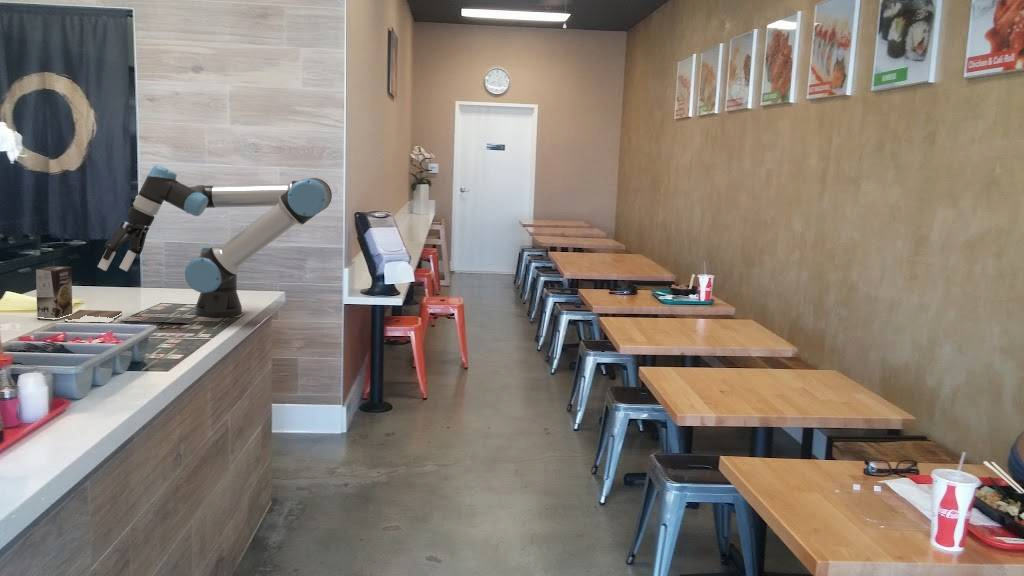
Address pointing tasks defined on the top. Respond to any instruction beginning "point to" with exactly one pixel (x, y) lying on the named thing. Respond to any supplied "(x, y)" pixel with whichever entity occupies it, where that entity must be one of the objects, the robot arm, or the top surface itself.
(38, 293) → the coffee box
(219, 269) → the robot arm
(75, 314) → the walnut board
